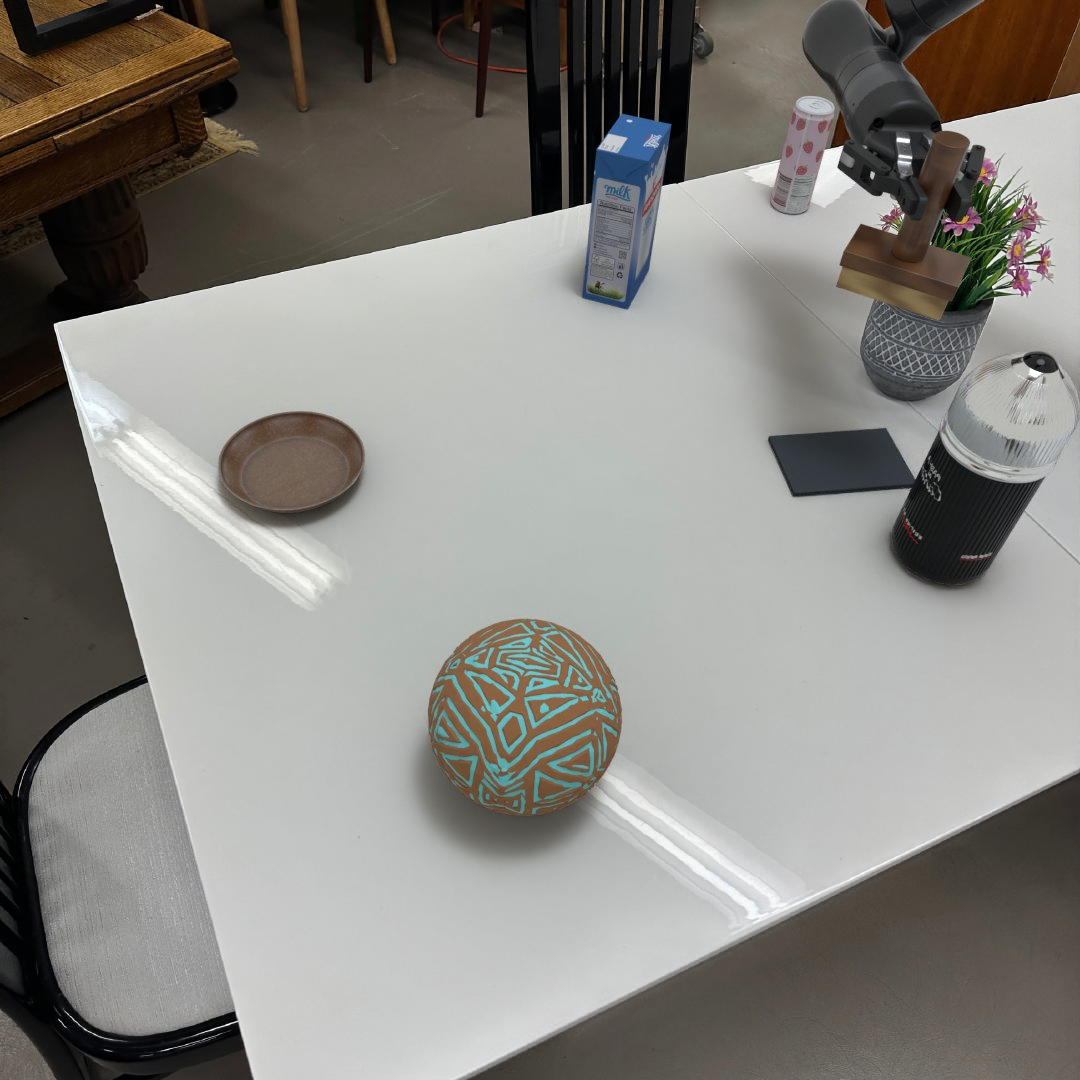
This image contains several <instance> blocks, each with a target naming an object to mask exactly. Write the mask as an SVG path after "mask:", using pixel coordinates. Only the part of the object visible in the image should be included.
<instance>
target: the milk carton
mask: <svg viewBox="0 0 1080 1080" xmlns="http://www.w3.org/2000/svg"><path fill="white" fill-rule="evenodd" d="M671 131H672V124H671V123H668V122H667V123H666V122H663V121H657V120H652V119H648V118H644V117H638V116H634V115H629V114H625V113H621V114H620V116H619V117H618V118H617V120H616V121H615V123H614V124H613V126H612V127H611V129H610V130H609V131H608V132H607V134H606V135H605V137H604V138H603V140H602V141H601V142H600V144H599V145H598V146H597V148H596V151H595V152H596V153H595V160H594V161H595V162H594V172H593V181H592V182H593V183H592V193H591V194H592V195H591V204H590V213H589V225H588V234H587V245H586V255H585V264H584V265H585V266H584V276H583V287H582V299H587V300H589V301H595V302H598V303H601V304H604V305H605V304H606V305H610V306H614V307H617V308H622V309H625V310H628V309H629V308H630V307H631V304H632V303H633V301H634V299H635V297H636V295H637V293H638V291H639V290H640V288H641V286H642V284H643V282H644V280H645V278H646V277H647V275H648V273H649V271H650V267H651V260H652V253H653V248H654V247H653V246H654V240H655V234H656V227H657V221H658V214H659V209H660V201H661V194H662V187H663V183H664V182H663V181H664V176H665V169H666V161H667V155H668V149H669V142H670V136H671Z"/></svg>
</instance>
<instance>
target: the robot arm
mask: <svg viewBox="0 0 1080 1080" xmlns="http://www.w3.org/2000/svg"><path fill="white" fill-rule="evenodd" d="M984 1H985V0H883V5H884V9H885V12H886V15H887V18H888V20H889V23H890V24H891V25H890V26H888V27H886V28H885V29H884V28H883V27H882V26H881V25H880V24H879V23H878V22H877V21H876V20H875V18H874V17H873V16H872V15H871V14H870V13H869V12H868V11H867V10H866V9H865V7H864V6H863V5H862V4H861V3H860V2H859V1H857V0H826V1H825V2H823V3H822V4H820V5H818V7H817V8H815V10H814V11H813V12H812V13H811V14H810V16H809V18H808V19H807V22H806V23H805V26H804V29H803V32H802V38H801V39H802V41H801V44H802V51H803V54H804V56H805V58H806V61H808V63H809V65H811V67H812V68H813V70H814V71H815V72H816V74H817V76H819V77H820V79H821V80H822V81H823V82H824V83H825V85H826V86H827V87H828V89H829V90H830V92H831V93H832V95H833V97H834V100H835V102H836V105H837V107H838V110H839V111H840V113H841V115H842V117H843V122H844V125H845V128H846V131H847V133H848V135H849V137H850V139H846V140H844V142H843V146H842V148H841V153H840V156H839V160H838V163H837V167H836V168H837V169H838V170H839V171H840V172H842V173H843V174H844V175H845V176H847V177H848V178H849V179H851V181H853V182H854V183H855V184H857V185H858V186H859V187H861V188H862V189H863V190H865V191H866V192H867V193H868V194H870V195H871V196H873V197H882V196H883V194H884V193H885V194H889V197H890V199H892V200H894V201H896V202H897V204H898V206H899V208H900V210H901V212H902V213H903V214H904V215H905V214H906V215H908V216H909V218H910V219H911V220H912V221H920V220H921V219H922V216H923V214H924V211H925V208H926V206H927V203H928V197H927V195H926V194H925V192H924V190H923V188H922V186H921V185H920V183H919V181H918V177H919V175H920V172H921V169H922V166H923V164H924V161H925V158H926V156H927V153H928V150H929V147H930V145H931V142H932V139H933V137H934V134H935V133H937V132H939V131H943V126H942V120H941V117H940V113H939V112H938V110H937V109H936V107H935V106H934V104H933V103H932V101H931V99H930V98H929V97H928V95H927V93H926V92H925V91H924V90H925V89H924V88H923V87H922V86H921V84H920V82H919V81H918V80H917V79H916V78H915V76H914V75H913V74H912V73H911V72H909V70H908V69H907V67H906V66H905V65H904V63H903V62H904V61H906V59H908V58H909V56H910V55H911V54H913V52H915V51H916V50H917V49H918V48H919V47H920V45H921V44H923V43H924V42H925V41H926V40H927V39H929V37H930V36H931V35H933V34H934V33H936V32H937V31H939V30H941V29H943V28H944V27H946V26H947V25H949V24H950V23H952V22H953V21H955V20H957V19H958V18H960V17H961V16H963V15H965V14H966V13H967V12H969V11H971V10H972V9H974V8H975V7H977V6H978V5H980V4H981V3H983V2H984ZM986 150H987V149H986V147H985V146H984V145H980V144H973V145H972V146H971V148H970V149H969V148H968V150H967V153H966V155H965V158H964V160H963V163H962V165H961V168H960V170H959V173H958V175H957V178H956V180H955V183H954V185H953V188H952V190H951V193H950V195H949V198H948V200H947V203H946V205H945V208H944V211H945V213H946V215H947V216H948V218H949V220H950V222H951V223H962V221H963V220H964V218H966V217H967V215H968V213H969V211H970V208H971V206H972V203H973V200H974V199H973V197H972V195H973V192H974V188H975V186H976V184H977V183H978V179H980V177H981V174H982V171H983V170H982V169H983V165H984V160H985V155H986ZM872 173H874V175H873V178H872V177H871V174H872Z"/></svg>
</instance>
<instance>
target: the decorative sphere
mask: <svg viewBox="0 0 1080 1080" xmlns="http://www.w3.org/2000/svg"><path fill="white" fill-rule="evenodd" d="M431 688H432V689H431V692H430V695H429V698H428V706H427V707H428V708H427V728H428V734H429V739H430V743H431V746H432V750H433V751H432V752H433V754H434V756H435V757H436V760H437V763H438V764H439V766H440V768H441V769H442V771H443V773H444V774H445V776H446V777H447V778H448V780H449V781H450V782H451V783H452V784H453V785H454V787H455V788H456V789H457V790H458V791H459V792H461V793H462V795H464V796H465V797H467V798H468V799H469V800H472V801H473V802H474V803H476V804H478V805H480V806H481V807H484V808H486V809H488V810H491V811H493V812H495V813H500V814H503V815H508V816H515V817H517V816H521V817H525V816H526V817H527V816H529V817H531V816H537V815H538V816H539V815H545V814H550V813H553V812H556V811H559V810H561V809H565V808H566V807H569V806H570V805H572V804H574V803H575V802H576V801H578V800H580V799H581V798H583V797H584V796H586V793H587V792H588V791H591V790H592V789H593V788H594V787H595V785H596V784H598V783H599V781H601V779H602V777H603V776H604V775H605V774H606V772H607V770H608V768H609V767H610V766H611V763H612V761H613V759H614V757H615V755H616V753H617V749H618V746H619V743H620V739H621V734H622V725H623V709H622V708H623V707H622V702H621V697H620V692H619V687H618V685H617V684H616V679H615V678H614V676H613V674H612V672H611V669H610V667H609V665H608V664H607V662H606V661H605V659H604V658H603V656H602V654H601V653H599V651H598V650H597V649H596V648H595V647H594V646H593V645H592V644H591V643H589V642H588V641H587V640H586V639H584V638H583V637H582V636H581V635H580V634H579V633H576V632H575V631H574V630H572V629H568V628H567V627H565V626H563V625H561V624H560V625H559V624H557V623H555V622H552V621H547V620H542V619H537V618H533V619H531V618H515V619H507V620H502V621H498V622H496V623H493V624H490V625H488V626H486V627H484V628H481V629H480V630H478V631H476V632H474V633H472V634H470V635H469V636H468V638H466V639H464V640H463V641H462V642H461V643H460V644H459V645H458V646H457V647H455V649H454V650H453V652H452V653H451V654H450V656H449V657H448V658H447V659H445V661H444V662H443V664H442V666H441V669H440V670H439V672H438V673H437V675H436V678H435V680H434V682H433V685H432V687H431Z"/></svg>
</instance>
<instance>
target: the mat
mask: <svg viewBox="0 0 1080 1080" xmlns="http://www.w3.org/2000/svg"><path fill="white" fill-rule="evenodd" d="M767 441H768V443H769V445H770V448H771V450H772V452H773V454H774V457H775V459H776V461H777V464H778V466H779V468H780V470H781V472H782V474H783V477H784V479H785V481H786V483H787V486H788V488H789V491H790V493H791V495H792V497H794V498H795V497H808V496H821V495H832V494H845V493H846V494H847V493H857V492H858V493H860V492H871V491H884V490H885V491H886V490H897V489H898V490H899V489H909V488H910V489H911V488H912V486H913V483H914V481H915V479H916V477H915V476H914V474H913V473H912V471H911V470H910V467H909V465H908V464H907V462H906V461H905V459H904V457H903V455H902V453H901V452H900V450H899V448H898V446H897V445H896V443H895V441H894V439H893V438H892V436H891V434H890V432H889V431H888V429H887V428H886V427H881V428H879V427H878V428H867V429H866V428H865V429H864V428H863V429H852V430H851V429H850V430H836V431H822V432H808V433H807V432H805V433H793V434H792V433H791V434H777V435H768V438H767Z"/></svg>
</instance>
